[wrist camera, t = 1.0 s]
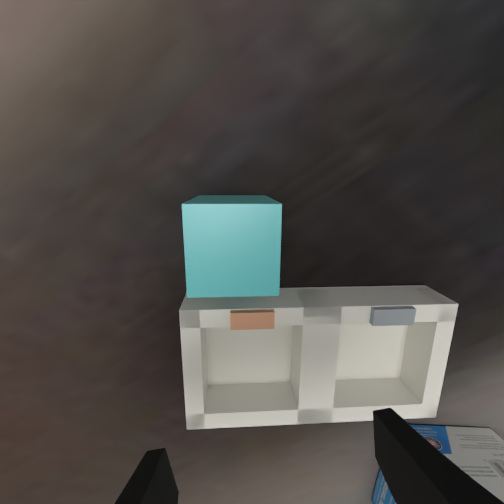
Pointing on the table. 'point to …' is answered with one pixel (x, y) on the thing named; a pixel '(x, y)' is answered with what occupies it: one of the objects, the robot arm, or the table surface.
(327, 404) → the white divided tray
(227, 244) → the teal rectangular block
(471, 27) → the table surface
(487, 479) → the ink box
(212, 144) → the table surface
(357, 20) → the table surface
